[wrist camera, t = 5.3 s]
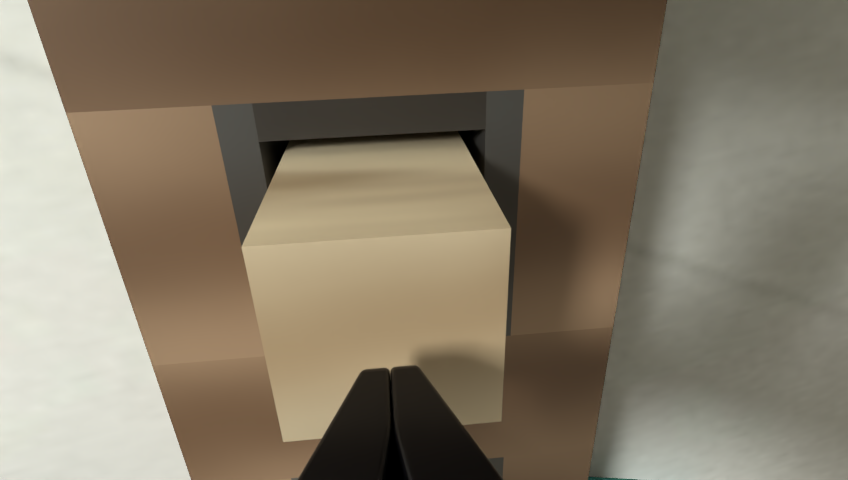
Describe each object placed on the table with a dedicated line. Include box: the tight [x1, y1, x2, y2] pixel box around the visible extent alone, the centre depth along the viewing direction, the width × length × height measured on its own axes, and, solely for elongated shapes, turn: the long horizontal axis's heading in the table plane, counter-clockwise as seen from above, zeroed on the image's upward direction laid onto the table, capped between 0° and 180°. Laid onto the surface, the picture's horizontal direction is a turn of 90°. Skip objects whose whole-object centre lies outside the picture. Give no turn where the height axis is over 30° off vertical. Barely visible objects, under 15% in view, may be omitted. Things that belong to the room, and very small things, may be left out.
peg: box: [242, 131, 511, 442], centre depth 11 cm, size 4×4×6 cm
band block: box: [28, 0, 667, 480], centre depth 18 cm, size 22×12×6 cm, turn 2°
